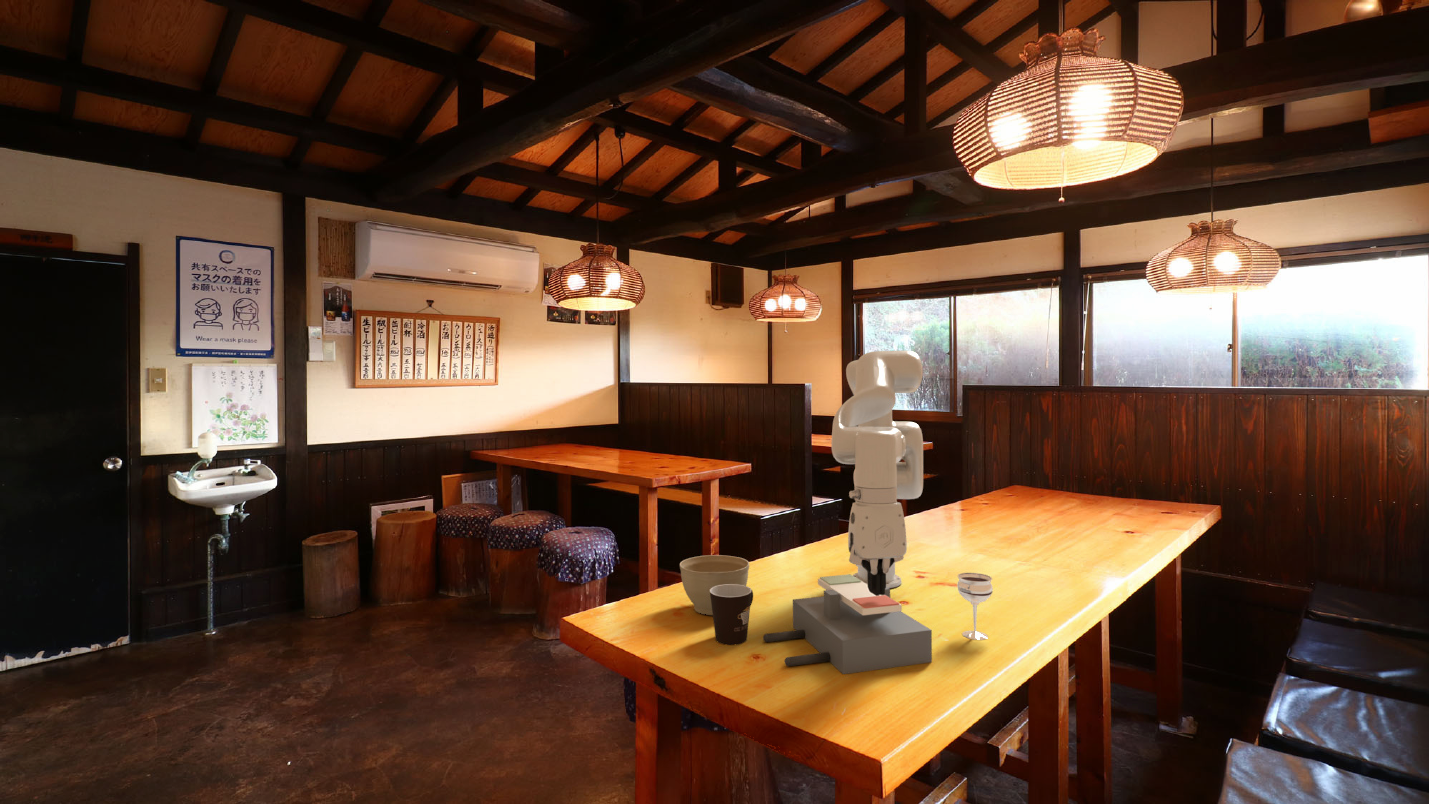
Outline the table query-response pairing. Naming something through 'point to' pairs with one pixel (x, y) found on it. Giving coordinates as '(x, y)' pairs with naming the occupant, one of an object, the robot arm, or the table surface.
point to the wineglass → (975, 596)
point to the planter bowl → (711, 577)
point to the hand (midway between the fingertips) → (876, 593)
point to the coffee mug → (731, 612)
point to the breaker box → (855, 636)
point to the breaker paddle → (859, 595)
